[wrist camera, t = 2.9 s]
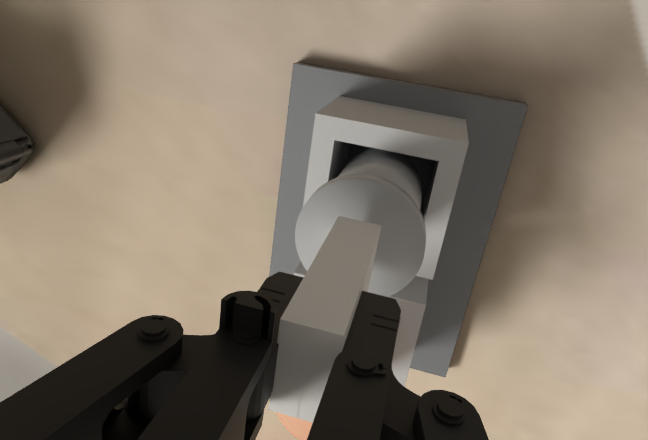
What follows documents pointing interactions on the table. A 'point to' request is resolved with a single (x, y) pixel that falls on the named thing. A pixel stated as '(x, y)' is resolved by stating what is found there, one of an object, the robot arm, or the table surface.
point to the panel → (437, 176)
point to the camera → (12, 146)
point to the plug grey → (371, 215)
